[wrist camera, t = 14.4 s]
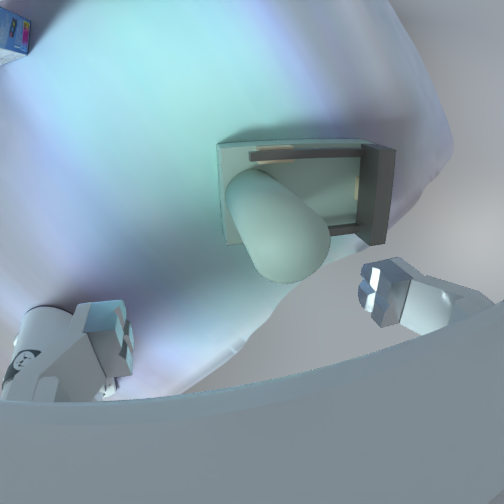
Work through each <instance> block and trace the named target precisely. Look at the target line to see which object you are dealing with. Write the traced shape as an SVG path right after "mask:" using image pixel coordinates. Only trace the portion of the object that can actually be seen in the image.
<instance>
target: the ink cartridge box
mask: <svg viewBox="0 0 504 504" xmlns="http://www.w3.org/2000/svg"><path fill="white" fill-rule="evenodd" d="M30 24H31V22H30V21H29V20H27V19H25V18H23V17H21V16H19V15H17V14H14V13H12V12H10V11H8V10H6V9H4V8H2V7H0V66H1V65H3V64H6V63H8V62H11V61H14V60H16V59H19V58H22V57H25V56H27V54H28V43H29V33H30Z"/></svg>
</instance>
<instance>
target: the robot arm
mask: <svg viewBox="0 0 504 504" xmlns="http://www.w3.org/2000/svg"><path fill="white" fill-rule="evenodd" d="M361 276H362V278H363V281H362V282H361V283H360V285H359V289H358V297H359V302H360V304H361V306H362V307H363V308H364V309H365V310H366V311H369V312H371V313H372V315H371V317H372V318H373V320H374V321H375V322H376V323H377V324H378V325H379V326H380V328H383V327H386V326H390V325H394V324H397V323H400V324H401V325H403V326H405V327H407V328H408V329H410V330H412V331H414V332H416V333H418V334H420V335H422V336H419V337H417V338H414V339H411V340H409V341H406V342H403V343H400V344H397V345H394V346H391V347H388V348H385V349H382V350H379V351H376V352H373V353H370V354H367V355H364V356H360V357H357V358H353V359H350V360H347V361H343V362H340V363H336V364H333V365H329V366H325V367H322V368H317V369H314V370H310V371H306V372H302V373H298V374H294V375H289V376H285V377H280V378H276V379H271V380H266V381H261V382H256V383H251V384H246V385H240V386H235V387H229V388H223V389H217V390H211V391H204V392H197V393H191V394H182V395H174V396H166V397H156V398H146V399H134V400H119V401H102V398H106V397H109V396H111V395H113V394H114V393H115V392H116V385H115V380H114V377H122V376H131V375H132V368H133V359H132V356H131V353H132V352H133V351H134V337H133V332H132V327H131V324H130V322H129V321H128V320H127V319H126V312H127V310H126V307H125V304H124V302H123V300H112V301H101V302H89V303H82V304H78V305H77V307H76V310H75V312H74V315H72V314H70V313H68V312H66V311H63V310H61V309H57V308H53V307H37V308H34V309H32V310H30V311H28V312H27V313H26V314H25V315H24V317H23V319H22V321H21V326H20V331H19V334H18V335H17V336H16V338H15V341H14V346H15V348H14V352H13V355H12V359H11V362H10V365H9V367H8V370H7V372H6V375H5V376H4V379H3V384H2V391H3V392H2V395H1V398H0V504H504V300H503V301H501V302H499V303H497V304H494V303H493V302H492V301H491V300H489V299H488V298H487V297H486V296H484V295H483V294H482V293H480V292H479V291H476V290H473V289H470V288H466V287H464V286H460V285H457V284H454V283H450V282H447V281H444V280H441V279H437V278H434V277H431V276H424V275H423V274H421V273H420V272H419V271H417V270H416V269H415V268H414V267H412V266H411V265H410V264H408V263H407V262H406V261H404V260H403V259H402V258H400V257H395V258H390V259H386V260H382V261H377V262H372V263H367V264H364V265H363V267H362V270H361Z"/></svg>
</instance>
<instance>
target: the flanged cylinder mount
mask: <svg viewBox="0 0 504 504" xmlns="http://www.w3.org/2000/svg"><path fill="white" fill-rule="evenodd" d="M361 144H375V143H372V142H369V141H365V140H362V139H285V140H263V141H247V142H233V143H221V144H216V146H217V161H218V176H219V190H220V204H221V217H222V230H223V235H224V238H225V240H226V243H227V246H228V245H235V244H243V243H244V245H245V247H246V249H247V251H248V253H249V255H250V257H251V259H252V262H253V264H254V266H255V268H256V269H257V271H258V272H259V273H260V274H261V275H262V276H263V277H264V278H266V279H268V280H270V281H272V282H275V283H281V284H288V283H294V282H298V281H301V280H303V279H305V278H307V277H308V276H310V275H311V274H313V273H314V272H315V271H316V270H317V269H318V268H319V267H320V266H321V265H322V263H323V262H324V260H325V258H326V256H327V254H328V251H329V247H330V233H329V229H328V227H327V226H332V225H341V224H349V223H355V222H356V212H357V201H358V188H359V173H360V157H338V158H306V159H286V160H270V161H256V162H250V161H249V154H248V151H260V150H277V149H300V148H361Z"/></svg>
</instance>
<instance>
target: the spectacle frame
mask: <svg viewBox="0 0 504 504" xmlns="http://www.w3.org/2000/svg"><path fill="white" fill-rule="evenodd" d="M395 153H396V150H394V149H391V148H388V147H384V146H381V145H378V144H361V148H300V149H277V150H260V151H248V154H249V161H250V162H256V161H270V160H286V159H306V158H338V157H360V173H359V188H358V201H357V212H356V222H355V223H349V224H341V225H332V226H327V227H328V229H329V233H330V236H337V235H345V234H353V233H355V234H356V235H357V236H358V237H360V238H361V239H362V240H363V241H364V242H366V243H367V244H368V245H369V246H373V245H380V244H385V241H386V234H387V227H388V220H389V213H390V205H391V196H392V187H393V177H394V166H395Z"/></svg>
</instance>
